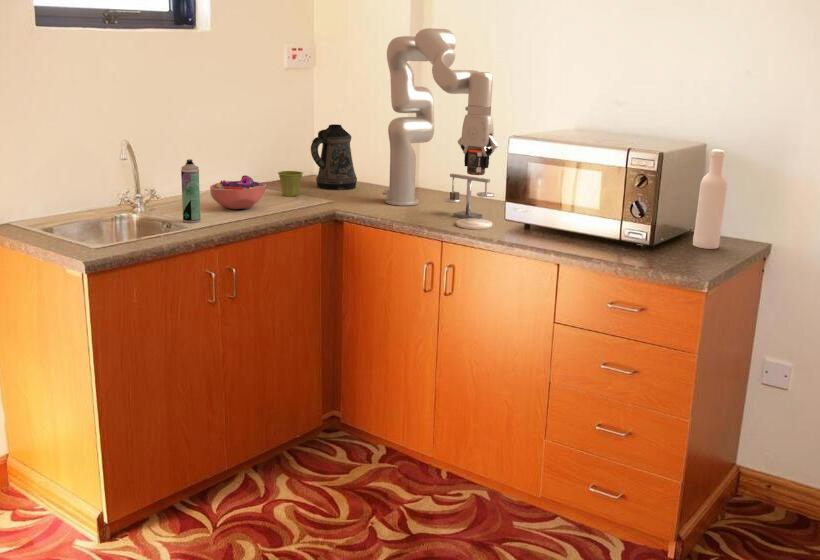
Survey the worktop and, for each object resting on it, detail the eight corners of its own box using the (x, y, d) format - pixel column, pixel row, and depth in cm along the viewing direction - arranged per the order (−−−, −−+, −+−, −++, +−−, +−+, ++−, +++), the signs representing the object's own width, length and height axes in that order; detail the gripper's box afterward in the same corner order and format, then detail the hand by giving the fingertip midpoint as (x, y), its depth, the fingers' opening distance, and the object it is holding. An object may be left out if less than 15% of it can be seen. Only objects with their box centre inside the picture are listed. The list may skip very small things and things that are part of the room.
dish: (449, 225, 287) (449, 221, 287) (470, 220, 296) (470, 216, 296) (478, 231, 280) (478, 227, 280) (499, 225, 289) (499, 222, 288)
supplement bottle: (483, 176, 280) (485, 141, 277) (465, 175, 281) (467, 140, 278) (485, 173, 286) (487, 139, 283) (468, 172, 287) (469, 138, 284)
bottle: (688, 242, 274) (700, 148, 266) (712, 243, 274) (725, 148, 266) (698, 249, 266) (711, 151, 258) (723, 249, 267) (736, 152, 259)
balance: (439, 213, 305) (441, 173, 302) (450, 211, 310) (451, 172, 306) (486, 222, 293) (488, 181, 289) (496, 220, 298) (498, 179, 294)
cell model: (201, 207, 302) (200, 175, 299) (250, 201, 315) (250, 170, 312) (225, 215, 290) (224, 182, 287) (276, 209, 303) (275, 177, 300)
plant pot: (301, 197, 326) (301, 175, 323) (276, 197, 326) (276, 174, 323) (304, 193, 335) (304, 171, 332) (280, 192, 335) (280, 170, 332)
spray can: (194, 218, 284) (192, 158, 278) (203, 221, 280) (201, 160, 274) (179, 220, 280) (177, 159, 274) (188, 223, 276) (186, 161, 271)
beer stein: (363, 185, 356) (364, 124, 349) (343, 192, 339) (344, 128, 332) (327, 182, 362) (327, 121, 355) (305, 189, 344) (305, 125, 337)
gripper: (450, 109, 280) (448, 165, 285) (494, 114, 270) (491, 171, 275) (464, 108, 286) (462, 163, 291) (508, 112, 275) (504, 169, 280)
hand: (476, 166), depth 283 cm, fingers closed on supplement bottle, 6 cm apart
